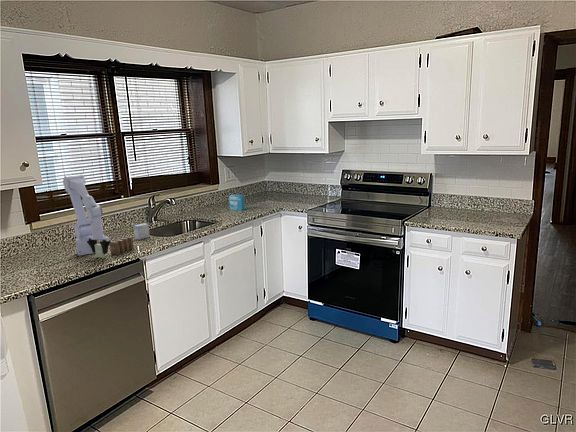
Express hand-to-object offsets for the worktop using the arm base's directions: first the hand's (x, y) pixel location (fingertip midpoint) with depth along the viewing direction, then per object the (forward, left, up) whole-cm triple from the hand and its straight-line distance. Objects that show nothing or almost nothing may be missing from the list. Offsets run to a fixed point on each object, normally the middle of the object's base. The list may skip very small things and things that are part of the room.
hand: (100, 253), depth 236 cm
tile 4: (+8, +1, -2) cm, 8 cm away
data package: (+108, +79, -3) cm, 134 cm away
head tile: (+16, +8, -2) cm, 18 cm away
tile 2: (+13, +6, -2) cm, 15 cm away
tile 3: (+10, +4, -2) cm, 11 cm away
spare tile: (0, 0, -2) cm, 2 cm away
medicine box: (+26, +30, -3) cm, 40 cm away
